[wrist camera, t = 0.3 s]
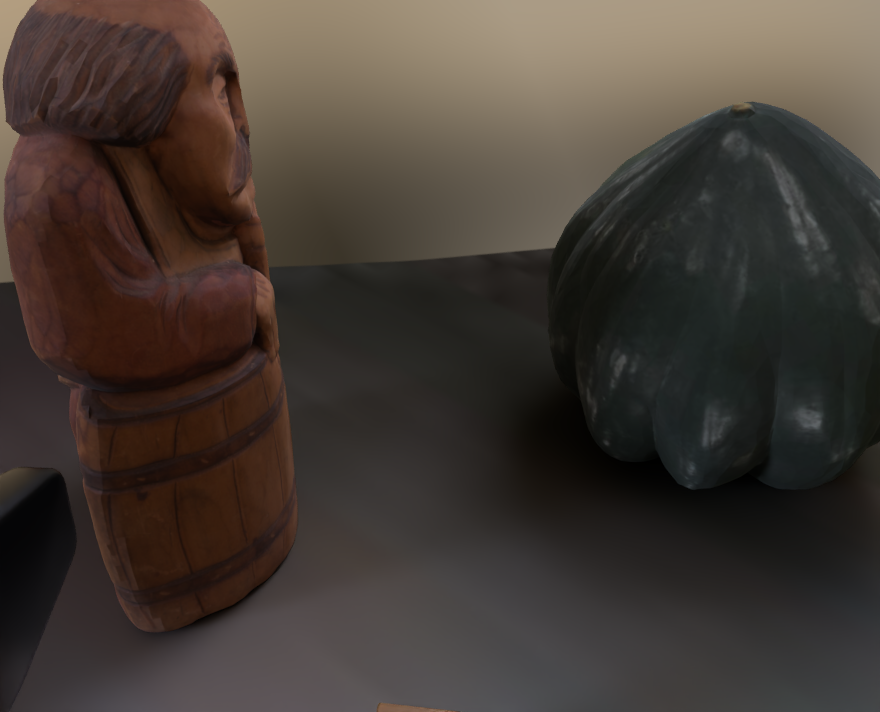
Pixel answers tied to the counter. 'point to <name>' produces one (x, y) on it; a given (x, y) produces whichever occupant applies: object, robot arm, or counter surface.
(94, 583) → the counter surface
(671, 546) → the counter surface
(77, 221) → the wooden figurine
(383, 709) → the walnut block
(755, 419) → the squash
